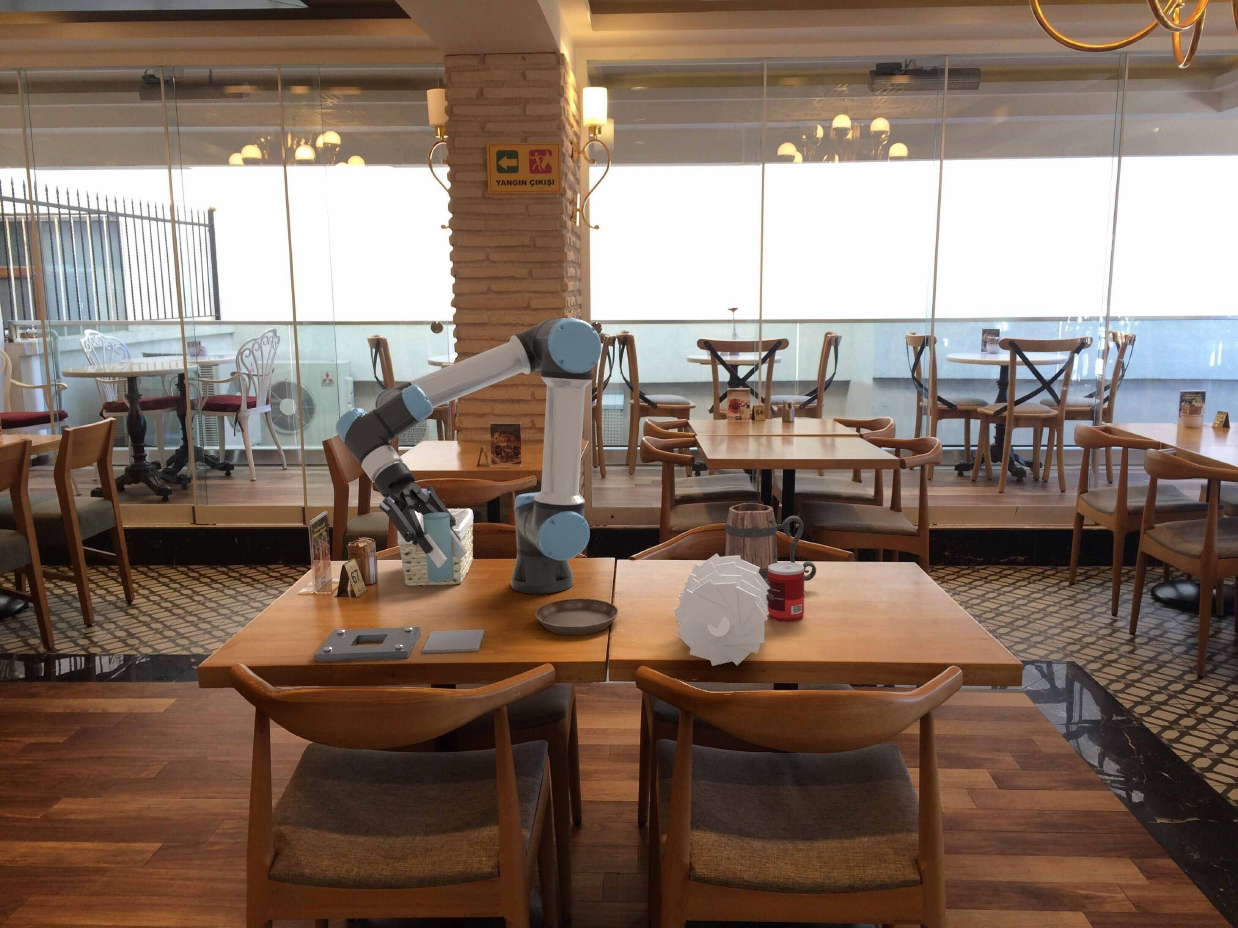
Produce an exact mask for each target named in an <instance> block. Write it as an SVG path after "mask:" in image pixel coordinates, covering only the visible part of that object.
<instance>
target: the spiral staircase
mask: <svg viewBox="0 0 1238 928" xmlns="http://www.w3.org/2000/svg"><path fill="white" fill-rule="evenodd" d="M759 569H760V568H759V567H757V566H755V565H753V564H750V563H748V562H746V561H744V560H741V558H740V555H738V556H727V557H725V556H720V555H719V554H718V553H715V554H714V555H712V556H711V557H710V558H708V559H706V560H704V562H702V563H700V564H699V563H697V562H696V563H694V566H693V568H692V571H691V573H689V575H688V578H687V580H685V581H684V585H685V587H684V589H683V591H682V592H680V595H678V598H679V599H678V600H679V605H678V607H674V608H673V610H674V614H675V617H676V620H677V621H676V622H677V623H678V624H677V625H678V627H679V629H678V630H676V632H675V634H676V635H677V636H678V637H679V638H680V640H681V641H683V642H684V644H686V645H687V646H688V647H689V648H690V651H689V655H690V656H694V657H698V658H701V659H705V660H709V661H710V664H711V666H712V667H714V666H718V665H722V664H725V663H726V664H727V663H731V662H733V663H734V664H735V665H736V666H738V665H740V664H741V663H742V661H744V660H745V659H746V658H747V657H748V656H749V655H750V654H751V653H755V654H759V650H760V646H761V644H765V622H766V621H768V617H769V612H768V600H767V599H766V595H767V594H768V592H767V590H768V589H770V588H769V586H768V585H767V583H766V582H765V581H764V579H763V578H762V577H761V575H760V574H759V573H758V572H759Z"/></svg>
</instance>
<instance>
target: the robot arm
mask: <svg viewBox="0 0 1238 928" xmlns="http://www.w3.org/2000/svg"><path fill="white" fill-rule="evenodd" d="M601 355H602V342H601V338H600V335H599V333H598V332H597V330H596V329H595V328H594V326H592V324H590V323H588V322H587V321H585V320H582V319H580V318H574V317H562V318H560V317H554V318H552V317H551V318H549V319H546V320H544V321H541V322H540V323H539V322H538V323H537V324H536V325H534V326H532V327H529V328H527V329H524V330H523V331H520V332H519V333H516V334H513V335H511V336H510V339H509V342H505V343H503V344H501V345H498V346H495V347H493V348H490V349H488V350H486V351H483V352H480V353H477V354H476V355H474V356H471V357H468V358H466V359H463V360H460V361H458V362H455V363H453V364H451V365H449V366H446V367H443V368H440V369H438V370H435V371H433V372H430V373H428V374H426V375H423V376H421V377H418V378H414V379H413V380H410V381H409V382H406V383H403V384H400V385H399V386H395V387H388V388H386V389H383V390H381V391H380V392H379V393H378V394H377V396H376V397H375V401H374V409H372V410H370V411H369V412H368V411H366V410H365V409H363V408H361V407H355V408H353V409H352V410H348V411H346V412H345V413H343V414H342V415H341V416H340V417H339V418H338V420H337V422H336V424H335V431H336V434H337V435H338V437H339V438H340V440H341V441H342V443H343V444H344V446H345V447H346V449H347V450H348V451H349V452H350V454H351V455H352V457H354V459H355V461H356V462H357V463H358V464H359V466H360V467H361V469H363V471H364V472H365V474H366V475H367V476H368V478H369V479H370V481H371V482H372V483H374V484H373V485H374V486H375V488H376V489H377V490H378V492H379V494H381V496H382V497H383V500H382V501H381V503H380V504H379V506H378V507H379V509H380V510H381V511H383V512H384V513H385V514H386V515H387V516H388V518H389V519H390V521H391V522H392V524H393V526H394V527H395V528H396V530H397V531H399V532H400V534H401V535H402V537H403V538H404V539H405V541H406V542H410V541H413V542H412V544H413V545H417V544H419V546H420V547H421V548H422V550H423V551H424V552H425V553H426V554H428V555H429V556H430V558H431V559H432V560H433V562H434V563H435V564H436V566H437V567H438V568H440V567H441V566H442V565H443V564H444V562H445V561H446V560H447V558H446V557H445V555H444V554H443V552H442V551H441V550H440V548H439V547H438V546H437V544H436V543H435V542H434V540H433V539H432V538H431V536H430V535H429V534H426V535H425V536H424V532H423V529H422V527H421V525H420V523H419V520H418V518H417V516H416V514H415V511H416V512H417V513H421V514H422V515H425V514H429V513H435V512H445V513H449V517H450V530H451V544H452V552H453V553H454V555H455V556H456V557H457V559H458V560H461V559H462V558H463V557H464V556H465V554H466V553H467V552H468V551H467V550H466V549H465V547H464V546H463V545H462V543H461V542H460V541H459V540H460V539H459V537H458V536H457V534H456V533H455V531H454V530H453V529H452V526H455V524H456V520H455V518H454V517H453V516H452V515H451V513H450V512H449V511H448V509H449V508H447V507H446V505H445V504H444V503H443V501H442V500H441V499H440V498H439V497H438V495H437V494H436V492H435V488H434V487H433V486H430V485H429V486H428V488H422V487H421V486H420V485H419V484H417V483H416V482H415V476H414V474H413V472H412V471H411V469H410V468H409V467H408V466H407V464H406V463H404V460H403V459H402V457H401V456H400V455H399V454H398V452H397V451H396V450H395V448H394V447H393V446H392V444H390V443H391V442H392V441H393V440H394V441H395V439H396V438H398V437H400V436H401V435H403V434H404V433H405V432H408V431H409V430H410V429H412V428H414V427H415V426H416V425H418V424H419V423H421V422H422V423H423V422H424V421H425V419H427V418H428V417H430V416H431V415H432V414H433V412H434V408H437V407H439V406H441V405H444V404H447V403H449V402H452V401H455V400H456V399H460V398H462V397H464V396H466V395H469V394H472V393H475V392H476V391H480V390H481V389H484V388H486V387H488V386H491V385H493V384H496V383H498V382H501V381H504V380H507V379H509V378H511V377H514V376H516V375H518V374H521V373H523V374H524V375H530V374H532V373H535V372H539V371H540V378H541V380H542V381H543V382H544V383H545V385H546V395H545V396H546V398H545V401H546V402H545V415H544V416H545V418H544V432H543V433H544V436H543V450H542V451H543V452H542V453H543V454H542V466H541V467H542V469H541V470H542V471H541V489H540V491H538V492H529V493H522V494H519V495H517V496H515V499H514V507H513V510H514V517H515V518H514V519H515V536H516V537H515V539H516V540H515V541H516V559H515V563H514V566H513V569H512V574H511V576H510V583H511V584H510V585H511V589H513V590H514V591H516V592H519V593H522V594H523V593H524V594H530V595H531V594H532V595H533V594H534V595H535V594H536V595H537V594H539V595H540V594H541V595H542V594H553V593H558V592H563V591H565V590H568V589H570V588H571V587H572V586H573V585H574V573H573V571H572V568H571V566H570V563H569V560H572V559H574V558H576V557H577V556H579V555H580V554H581V553H582V552H583V551H584V550H585V548H586V547H587V546H588V544H589V541H590V534H591V532H590V526H589V524H588V521H587V520H586V518H585V510H586V508H585V507H586V506H585V505H586V499H585V498H584V497H583V496H582V495H581V494H580V479H581V466H582V465H581V461H582V460H581V459H582V444H583V443H582V442H583V428H584V415H585V413H584V411H585V399H586V398H585V397H586V387H587V386H589V385H590V384H591V383H592V382H593V379H594V378H593V377H594V376H593V375H594V367H596V365H597V363H598V362H599V360H600V358H601ZM408 533H409V534H408Z"/></svg>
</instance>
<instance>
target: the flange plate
mask: <svg viewBox="0 0 1238 928" xmlns="http://www.w3.org/2000/svg"><path fill="white" fill-rule="evenodd" d="M421 632H422V631H421V627H420V626H407V627H405V626H404V627H382V628H381V627H379V628H355V629H354V628H351V629H349V628H348V629H345V628H341V629H334V630H333V631H331V633H330V634H329V636H328V637H327V638H326V639H325V641H324V642H323V643H322V644H321V646H320V647H319V648H318V649H317V651H316V652H315V653H314V661H319V662H342V661H344V662H345V661H365V660H366V661H369V660H397V659H399V660H401V659H402V660H403V659H409V657H410V655H411V653H412V651H413V649H414V648H415V645H416V644H417V641H418V639H419V637H420V636H421ZM372 642H374V643H375V642H376V643H377V642H382V643H381V644H375V645H374V644H373V645H369V644H368V645H358V643H372Z"/></svg>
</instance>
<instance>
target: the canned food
mask: <svg viewBox="0 0 1238 928" xmlns="http://www.w3.org/2000/svg"><path fill="white" fill-rule="evenodd" d="M804 575H805V572H804V566H803V564H800V563H798V562H795V563H792V562H791V561H789V562H788V561H780V562H778V563H774V564H771V565H769V566H768V586H769V588H770V589H768V600H767V608H768V612H769V614H768V617H769V618H770V619H772V620H774V621H778V622H786V623H787V622H790V623H791V622H796V621H799V620H801V619H802V618H803V617H804V613H805V581H804Z"/></svg>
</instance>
